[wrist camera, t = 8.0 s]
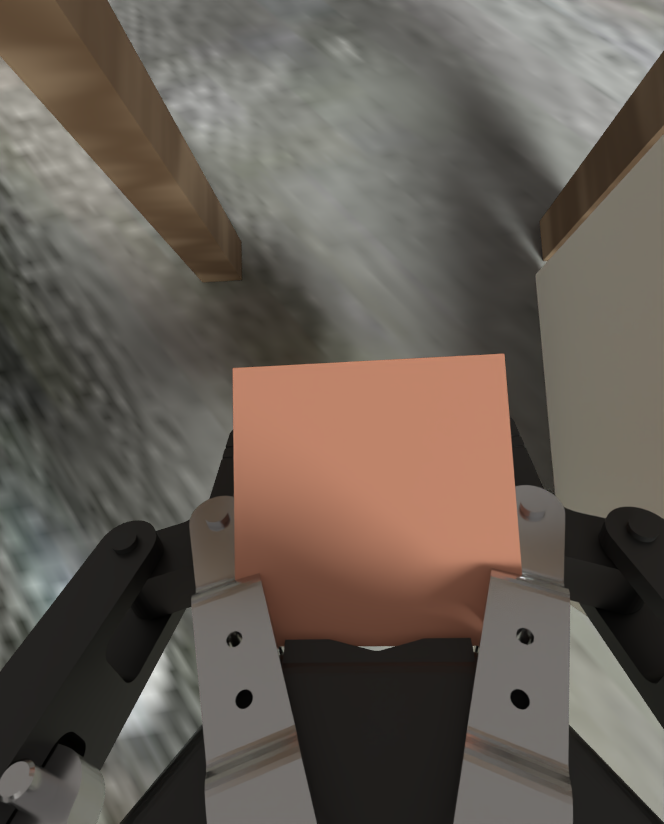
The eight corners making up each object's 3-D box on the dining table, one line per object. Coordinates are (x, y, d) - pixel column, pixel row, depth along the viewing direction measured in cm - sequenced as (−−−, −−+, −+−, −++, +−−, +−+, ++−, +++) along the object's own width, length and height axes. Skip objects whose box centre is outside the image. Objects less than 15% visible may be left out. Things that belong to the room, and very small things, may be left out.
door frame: (202, 282, 28) (-329, -312, 6) (202, 244, 28) (-309, -447, 7) (586, 258, 26) (1532, -612, 5) (582, 218, 26) (1462, -767, 5)
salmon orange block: (308, 548, 17) (235, 647, 8) (304, 418, 18) (232, 367, 9) (441, 545, 17) (527, 645, 8) (432, 412, 18) (504, 353, 8)
